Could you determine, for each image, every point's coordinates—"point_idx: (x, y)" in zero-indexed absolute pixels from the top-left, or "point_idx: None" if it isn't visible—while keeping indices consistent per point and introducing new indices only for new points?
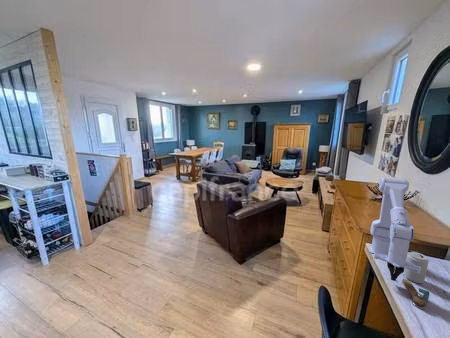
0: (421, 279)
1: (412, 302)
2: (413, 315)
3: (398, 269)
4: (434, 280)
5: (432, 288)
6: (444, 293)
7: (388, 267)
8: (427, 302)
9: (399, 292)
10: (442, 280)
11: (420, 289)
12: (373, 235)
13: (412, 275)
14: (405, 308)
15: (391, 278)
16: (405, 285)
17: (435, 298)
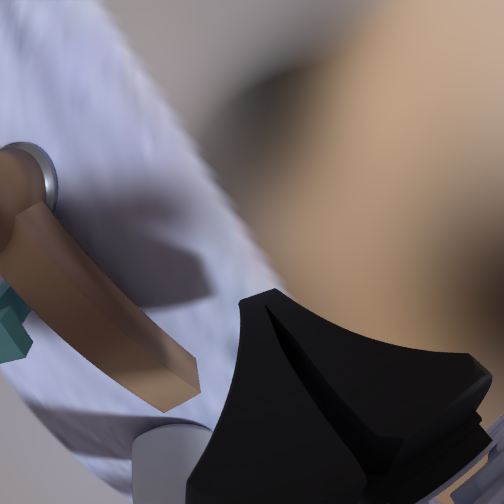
0: (135, 463)
1: (45, 160)
2: (28, 19)
3: (310, 497)
4: (130, 477)
5: (94, 437)
6: (56, 436)
7: (464, 356)
8: (4, 283)
9: (163, 215)
10: (120, 487)
11: (6, 342)
12: (429, 501)
13: (178, 463)
14: (75, 29)
15: (282, 295)
16: (153, 336)
17: (32, 375)
